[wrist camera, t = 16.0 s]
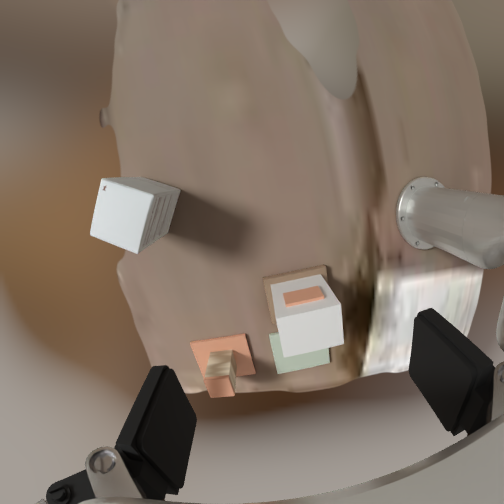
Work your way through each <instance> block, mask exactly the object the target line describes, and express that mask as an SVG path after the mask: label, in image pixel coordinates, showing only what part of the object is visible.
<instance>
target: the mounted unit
mask: <svg viewBox="0 0 504 504" xmlns="http://www.w3.org/2000/svg"><path fill="white" fill-rule="evenodd" d="M263 283H264V288H265V292H266V297H267V301H268V306H269V311H270V315H271V320H272V324H276V323H277V327H278V332H279V336H280V341H281V346H282V351H283V356H284V358H285V357H290V356H294V355H299V354H304V353H308V352H313V351H317V350H321V349H326V348H330V347H334V346H338V345H341V344H344V339H343V324H342V311H341V304H340V302H339V301H338V299H337V298H336V296H335V295H334V293H333V292H332V290H331V289H330V287H329V286H328V279H327V272H326V266H325V265H319V266H315V267H310V268H306V269H301V270H296V271H292V272H287V273H282V274H277V275H272V276H268V277H263Z"/></svg>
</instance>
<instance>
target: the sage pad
mask: <svg viewBox="0 0 504 504" xmlns="http://www.w3.org/2000/svg"><path fill="white" fill-rule="evenodd" d="M269 338H270V342H271V347H272V351H273V355H274V360H275V364H276V369H277V373H278V374H280V373H286V372H291V371H296V370H300V369H305V368H310V367H314V366H318V365H323V364H327V363H330V360H329V348H326V349H321V350H317V351H313V352H308V353H304V354H299V355H294V356H290V357H285V358H284V356H283V351H282V346H281V341H280V336H279V332H277V333H272V334H269Z"/></svg>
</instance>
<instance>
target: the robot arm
mask: <svg viewBox="0 0 504 504" xmlns="http://www.w3.org/2000/svg"><path fill="white" fill-rule="evenodd" d="M396 219H397V225H398V229H399V231H400V234H401V235H402V237H403V238H404V240H405V241H406V242H407V243H408V244H410V245H411V246H413V247H415V248H418V249H430V248H433V247H434V246H435V247H437V248H440V249H442V250H444V251H446V252H448V253H451V254H453V255H455V256H457V257H459V258H461V259H463V260H466V261H468V262H470V263H472V264H474V265H476V266H478V267H481V268H484V269H493V268H497V267H500V266H502V265H504V196H501V195H494V194H487V193H480V192H473V191H466V190H458V189H450V188H445V187H444V186H443V185H442V184H441V183H440V182H439V181H437V180H435V179H434V178H430V177H419V178H416V179H414V180H412V181H411V182H409V183H408V184H407V185H406V186H405V187H404V189H403V191H402V192H401V194H400V197H399V199H398V203H397V209H396ZM496 338H497V342H498V344H499V346H500V348H501V349H502V350H503V351H504V297H503V302H502V306H501V310H500V314H499V318H498V322H497V328H496ZM409 374H410V377H411V378H412V380H413V381H414V383H415V384H416V386H417V387H418V388H419V390H420V391H421V393H422V394H423V396H424V397H425V399H426V400H427V402H428V403H429V405H430V406H431V408H432V409H433V411H434V412H435V414H436V415H437V417H438V418H439V420H440V422H441V423H442V425H443V426H444V428H445V429H446V430H447V431H451V433H452V434H453V436H455V435H457V434H458V433H460V432H462V431H463V430H466V432H467V437H465V438H464V439H462V440H460V441H458V442H457V443H455V444H453V445H451V446H449V447H448V448H446V449H444V450H442V451H440V452H438V453H436V454H434V455H432V456H430V457H428V458H426V459H424V460H422V461H419V462H417V463H415V464H413V465H410V466H408V467H406V468H403V469H401V470H398V471H396V472H393V473H391V474H388V475H385V476H382V477H379V478H377V479H374V480H371V481H368V482H365V483H361V484H358V485H355V486H351V487H347V488H343V489H340V490H336V491H332V492H327V493H322V494H317V495H313V496H307V497H301V498H296V499H289V500H280V501H272V502H261V503H245V504H504V362H501V363H500V364H498V365H497V366H496V368H495V367H494V366H493V361H492V360H491V359H490V358H489V357H487V356H486V355H485V354H484V353H483V352H482V351H481V350H480V349H479V348H478V347H477V346H476V345H474V344H473V343H472V342H471V341H470V340H469V339H468V338H467V337H466V336H464V335H463V334H462V333H461V332H460V331H459V330H458V329H456V328H455V327H454V326H453V325H452V324H451V323H449V322H448V321H447V320H446V319H445V318H444V317H442V316H441V315H440V314H439V313H438V312H436V311H435V310H434V309H432V308H429V309H426V310H424V311H421V312H419V313H418V315H417V317H415V319H414V329H413V340H412V349H411V357H410V364H409ZM196 422H197V419H196V414H195V412H194V410H193V408H192V406H191V405H190V403H189V401H188V399H187V397H186V395H185V393H184V391H183V389H182V387H181V385H180V383H179V380H178V378H177V376H176V374H175V372H174V370H173V369H169V367H168V366H166V365H164V366H153V367H152V368H151V370H150V372H149V374H148V376H147V378H146V380H145V382H144V384H143V386H142V388H141V390H140V392H139V394H138V396H137V398H136V401H135V402H134V405H133V407H132V409H131V411H130V413H129V415H128V417H127V419H126V422H125V424H124V426H123V428H122V430H121V432H120V435H119V437H118V439H117V441H116V445H115V448H111V447H100V448H97V449H95V450H94V451H92V452H91V453H90V454H89V455H88V457H87V458H86V462H85V467H86V469H85V470H83V471H81V472H79V473H77V474H74V475H72V476H70V477H67V478H65V479H63V480H60V481H58V482H55V483H54V484H52V485H51V486H50V487H49V489H48V490H47V494H46V499H47V500H46V501H45V500H44V499H41V500H40V501H39V502H37V503H36V504H199V503H182V502H170V501H165V495H166V494H175V495H178V492H179V488H182V487H183V485H184V481H185V476H186V470H187V466H188V460H189V456H190V451H191V446H192V441H193V437H194V432H195V427H196Z"/></svg>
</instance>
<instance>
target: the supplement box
mask: <svg viewBox="0 0 504 504" xmlns="http://www.w3.org/2000/svg"><path fill="white" fill-rule="evenodd" d="M180 191H181V190H180V189H178V188H175V187H172V186H169V185H166V184H163V183H160V182H157V181H153V180H150V179H147V178H144V177H120V178H103V179H102V180H101V184H100V189H99V193H98V197H97V202H96V206H95V211H94V215H93V221H92V226H91V232H90V235H91V236H94V237H96V238H99V239H101V240H103V241H106V242H109V243H111V244H113V245H116V246H118V247H121V248H123V249H126V250H129V251H131V252H134V253H136V254H138V253H140V252H141V251H142V250H144V249H145V248H147V247H148V246H150V245H151V244H152V243H154V242H155V241H157V240H158V239H160V238H161V237H163V236H164V235H166V234H167V233H168V231H169V227H170V223H171V220H172V217H173V213H174V210H175V207H176V203H177V200H178V197H179V194H180Z"/></svg>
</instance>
